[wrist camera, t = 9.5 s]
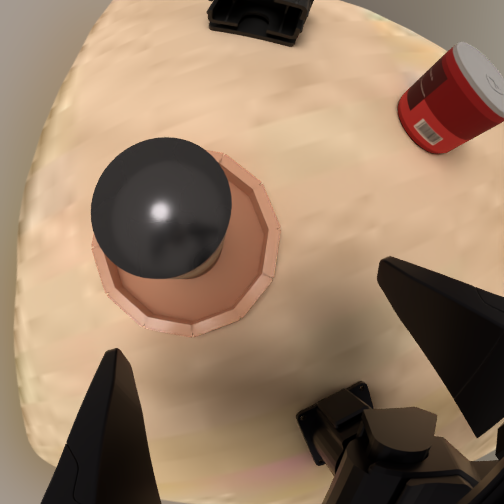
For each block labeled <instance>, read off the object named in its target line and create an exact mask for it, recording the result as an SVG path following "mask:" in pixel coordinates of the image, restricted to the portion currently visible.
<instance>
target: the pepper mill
mask: <svg viewBox="0 0 504 504" xmlns="http://www.w3.org/2000/svg"><path fill="white" fill-rule="evenodd" d="M231 209H232V196H231V190H230V186H229V183H228V179H227V177H226V175H225V173H224V171H223V169H222V168H221V166H220V164H219V163H218V162H217V161H216V160H215V158H214V157H213V156H212V155H211V154H209V153H208V152H207V151H206V150H204V149H203V148H201V147H200V146H198V145H196V144H194V143H192V142H189V141H186V140H183V139H178V138H167V137H164V138H154V139H149V140H146V141H142V142H139V143H137V144H135V145H133V146H131V147H129V148H128V149H126V150H124V151H123V152H122V153H120V154H119V155H118V156H117V157H116V158H115V159H114V160H113V161H112V162H111V163H110V164H109V165H108V166H107V168H106V169H105V170H104V172H103V173H102V175H101V177H100V178H99V181H98V183H97V185H96V188H95V191H94V194H93V198H92V203H91V222H92V227H93V232H94V235H95V238H96V240H97V242H98V244H99V246H100V248H101V249H102V251H103V252H104V254H105V255H106V256H107V257H108V258H109V259H110V261H111V262H113V263H114V264H115V265H116V266H118V267H119V268H121V269H122V270H124V271H125V272H128V273H130V274H132V275H135V276H138V277H142V278H149V279H193V278H197V277H200V276H202V275H204V274H205V273H207V272H208V271H209V270H211V269H212V268H213V267H214V265H215V264H216V263H217V261H218V259H219V257H220V254H221V251H222V247H223V244H224V240H225V236H226V232H227V229H228V225H229V221H230V217H231Z"/></svg>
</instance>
